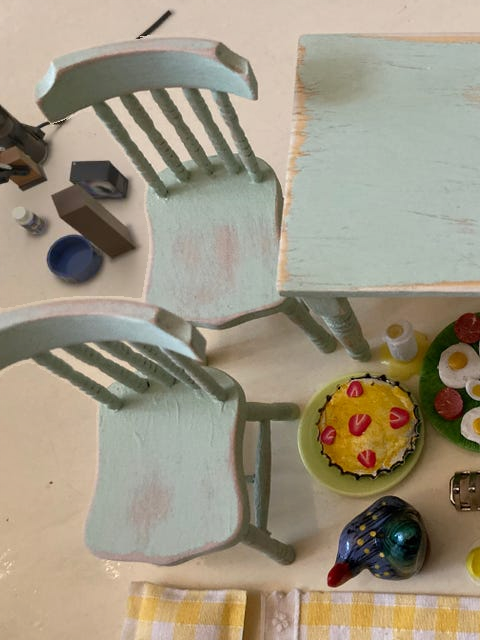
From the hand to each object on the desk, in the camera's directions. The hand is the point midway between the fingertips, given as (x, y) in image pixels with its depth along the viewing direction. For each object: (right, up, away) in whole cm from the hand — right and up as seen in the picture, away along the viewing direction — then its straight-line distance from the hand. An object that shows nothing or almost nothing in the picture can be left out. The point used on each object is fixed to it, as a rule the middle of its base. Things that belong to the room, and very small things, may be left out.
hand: (26, 163), depth 153 cm
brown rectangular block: (+1, -11, +38) cm, 40 cm away
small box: (-5, +5, +43) cm, 44 cm away
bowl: (-10, -17, +37) cm, 42 cm away
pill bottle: (-24, -6, +41) cm, 47 cm away
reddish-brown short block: (-2, -2, +5) cm, 5 cm away
